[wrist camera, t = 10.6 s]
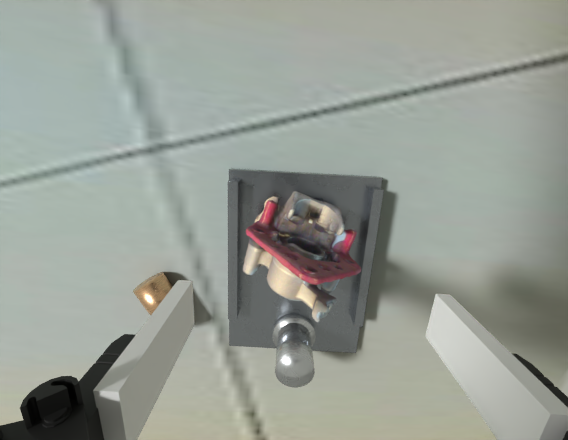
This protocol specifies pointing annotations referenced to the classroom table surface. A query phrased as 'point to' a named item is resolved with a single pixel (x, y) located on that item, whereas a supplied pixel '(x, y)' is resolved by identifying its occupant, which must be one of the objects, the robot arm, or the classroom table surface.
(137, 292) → the golden brown rounded block
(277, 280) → the brake caliper
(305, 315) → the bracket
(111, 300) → the classroom table surface
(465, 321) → the robot arm
